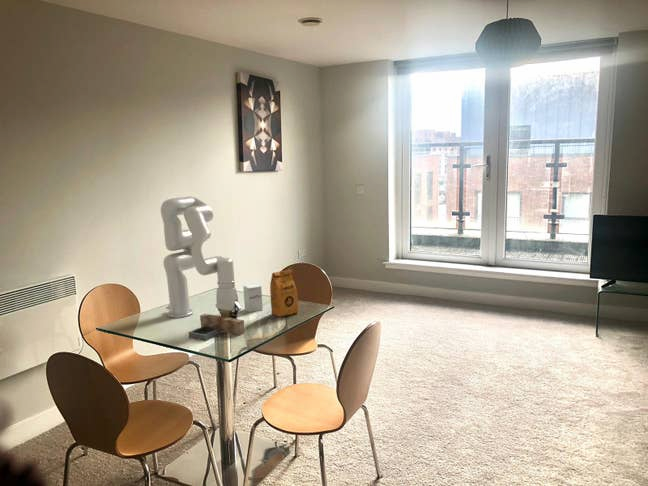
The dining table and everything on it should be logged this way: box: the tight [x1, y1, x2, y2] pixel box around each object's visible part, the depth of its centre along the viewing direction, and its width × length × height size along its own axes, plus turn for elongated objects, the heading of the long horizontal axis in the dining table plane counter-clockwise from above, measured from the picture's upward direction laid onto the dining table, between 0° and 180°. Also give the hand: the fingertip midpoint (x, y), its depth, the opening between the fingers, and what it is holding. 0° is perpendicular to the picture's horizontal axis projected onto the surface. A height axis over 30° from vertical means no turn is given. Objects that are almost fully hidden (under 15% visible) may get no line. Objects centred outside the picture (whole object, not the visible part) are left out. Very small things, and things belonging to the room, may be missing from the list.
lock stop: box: [221, 309, 235, 318], centre depth 247 cm, size 4×4×9 cm
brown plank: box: [199, 313, 246, 336], centre depth 240 cm, size 24×3×6 cm, turn 58°
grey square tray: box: [187, 326, 222, 342], centre depth 234 cm, size 10×10×2 cm
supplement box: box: [243, 283, 264, 313], centre depth 271 cm, size 7×7×13 cm
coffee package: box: [269, 269, 299, 317], centre depth 259 cm, size 10×12×22 cm
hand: (229, 322), depth 247 cm, fingers open, 5 cm apart
